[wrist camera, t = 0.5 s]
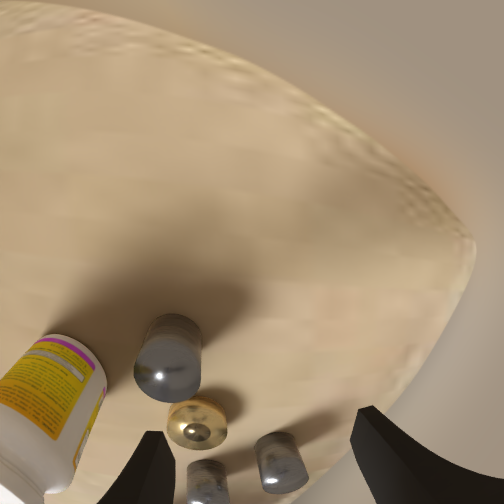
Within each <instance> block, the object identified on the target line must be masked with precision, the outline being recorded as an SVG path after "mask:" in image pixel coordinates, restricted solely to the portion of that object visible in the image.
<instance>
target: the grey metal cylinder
mask: <svg viewBox="0 0 504 504" xmlns="http://www.w3.org/2000/svg"><path fill="white" fill-rule="evenodd" d="M201 348H202V337H201V333H200V331H199V329H198V327H197V326H196V324H195V323H194V322H193V321H191V320H190V319H188V318H187V317H184V316H182V315H178V314H167V315H163V316H160V317H159V318H157V319H156V320H155V321H154V322H153V323H152V324H151V326H150V328H149V330H148V332H147V335H146V337H145V340H144V342H143V345H142V347H141V350H140V352H139V355H138V357H137V360H136V363H135V366H134V378H135V381H136V383H137V385H138V386H139V388H140V389H141V390H142V391H143V392H144V393H145V394H147V395H148V396H150V397H151V398H153V399H155V400H158V401H161V402H167V403H177V402H182V401H185V400H187V399H189V398H191V397H192V396H193V395H194V394H195V393H196V392H197V391H198V389H199V387H200V382H201Z"/></svg>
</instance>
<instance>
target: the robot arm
mask: <svg viewBox="0 0 504 504" xmlns="http://www.w3.org/2000/svg"><path fill="white" fill-rule="evenodd" d="M350 442H351V445H352V449H353V452H354V455H355V458H356V461H357V463H358V465H359V467H360V470H361V472H362V474H363V476H364V478H365V480H366V482H367V484H368V486H369V488H370V490H371V492H372V495H373V497H374V499H375V501H376V503H377V504H504V479H500V478H495V477H491V476H486V475H482V474H479V473H476V472H474V471H471V470H468V469H465V468H463V467H460V466H458V465H455V464H453V463H451V462H449V461H447V460H445V459H444V458H442V457H440V456H438V455H436V454H435V453H433V452H432V451H430V450H428V449H427V448H425V447H424V446H422V445H421V444H420V443H418V442H417V441H415V440H414V439H413V438H411V437H410V436H409V435H408V434H406V433H405V432H404V431H402V430H401V429H400V428H398V427H397V426H396V425H395V424H394V423H393V422H392V421H390V420H389V419H388V418H387V417H386V416H385V415H383V414H382V413H381V412H380V411H379V410H378V409H377V408H375V407H374V406H373V405H372V406H368V407H365V408H361V409H358V412H357V416H356V420H355V424H354V427H353V431H352V434H351V438H350ZM174 490H175V458H174V456H173V454H172V452H171V449H170V447H169V445H168V443H167V440H166V438H165V436H164V433H163V431H146V432H145V434H144V435H143V437H142V439H141V441H140V443H139V444H138V446H137V448H136V450H135V451H134V453H133V455H132V456H131V458H130V460H129V461H128V463H127V464H126V466H125V467H124V469H123V470H122V472H121V473H120V475H119V476H118V478H117V479H116V480H115V482H114V483H113V484H112V486H111V487H110V488H109V490H108V491H107V492H106V494H105V495H104V496H103V497H102V498H101V499H100V501H99V502H98V503H97V504H173V498H174Z"/></svg>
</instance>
